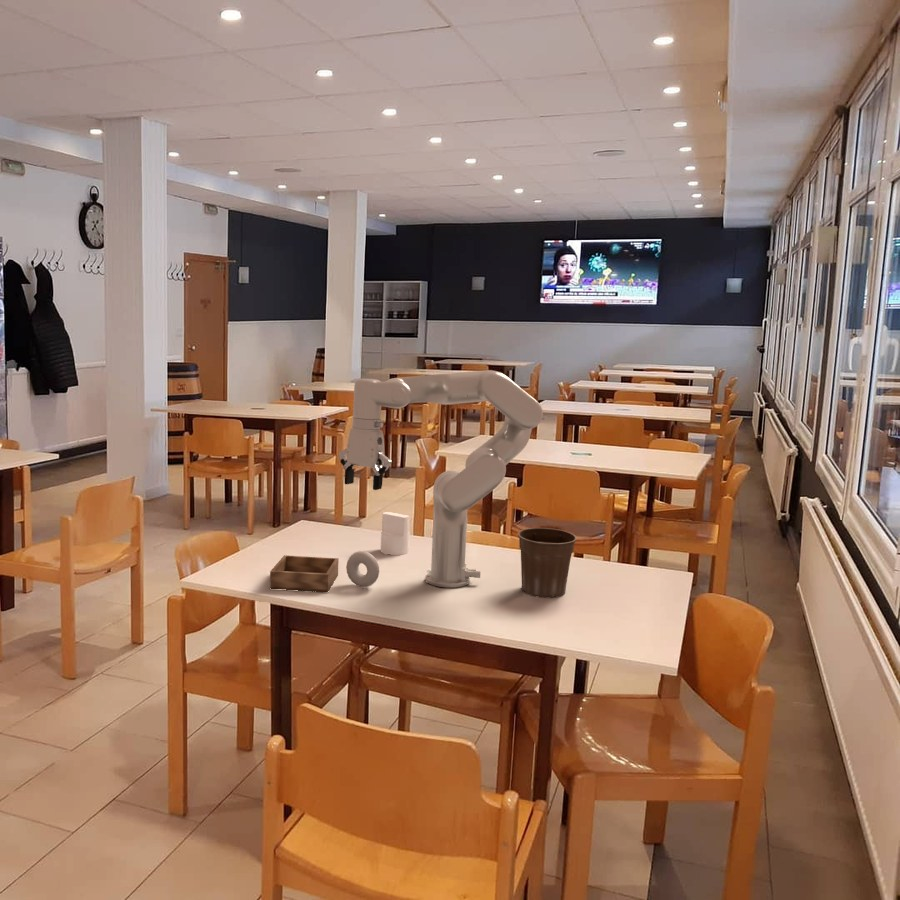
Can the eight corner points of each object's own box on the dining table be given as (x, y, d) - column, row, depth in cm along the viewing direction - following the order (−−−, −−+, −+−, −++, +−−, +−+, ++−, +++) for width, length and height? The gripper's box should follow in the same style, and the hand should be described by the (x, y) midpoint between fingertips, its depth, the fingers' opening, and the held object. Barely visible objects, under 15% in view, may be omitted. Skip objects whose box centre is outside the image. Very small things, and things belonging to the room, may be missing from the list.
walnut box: (338, 575, 236) (338, 558, 236) (327, 592, 221) (328, 574, 220) (283, 572, 237) (284, 555, 236) (269, 589, 222) (270, 571, 221)
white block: (414, 551, 265) (415, 514, 264) (397, 557, 258) (399, 519, 256) (391, 546, 270) (392, 510, 268) (374, 551, 262) (376, 514, 261)
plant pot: (569, 604, 221) (574, 545, 219) (510, 596, 225) (513, 539, 222) (575, 586, 237) (579, 531, 234) (519, 579, 240) (522, 525, 238)
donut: (381, 588, 227) (382, 552, 225) (374, 591, 224) (375, 555, 222) (350, 581, 231) (351, 547, 230) (343, 585, 228) (344, 549, 227)
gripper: (400, 427, 223) (396, 489, 226) (349, 420, 232) (346, 480, 235) (383, 429, 217) (380, 493, 220) (332, 421, 226) (329, 483, 228)
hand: (362, 486), depth 227 cm, fingers open, 9 cm apart
